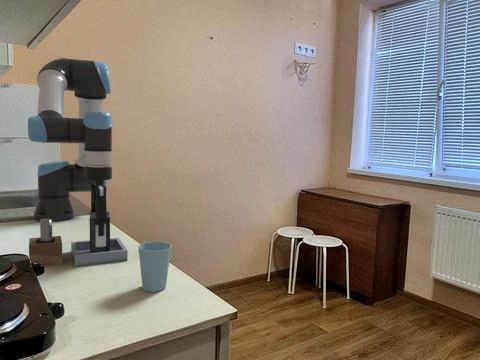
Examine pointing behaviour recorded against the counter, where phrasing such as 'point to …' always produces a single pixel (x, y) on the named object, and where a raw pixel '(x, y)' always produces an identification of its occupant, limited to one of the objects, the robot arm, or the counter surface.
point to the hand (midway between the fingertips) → (98, 242)
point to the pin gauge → (46, 230)
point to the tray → (98, 253)
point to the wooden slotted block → (46, 251)
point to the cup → (154, 265)
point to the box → (93, 235)
